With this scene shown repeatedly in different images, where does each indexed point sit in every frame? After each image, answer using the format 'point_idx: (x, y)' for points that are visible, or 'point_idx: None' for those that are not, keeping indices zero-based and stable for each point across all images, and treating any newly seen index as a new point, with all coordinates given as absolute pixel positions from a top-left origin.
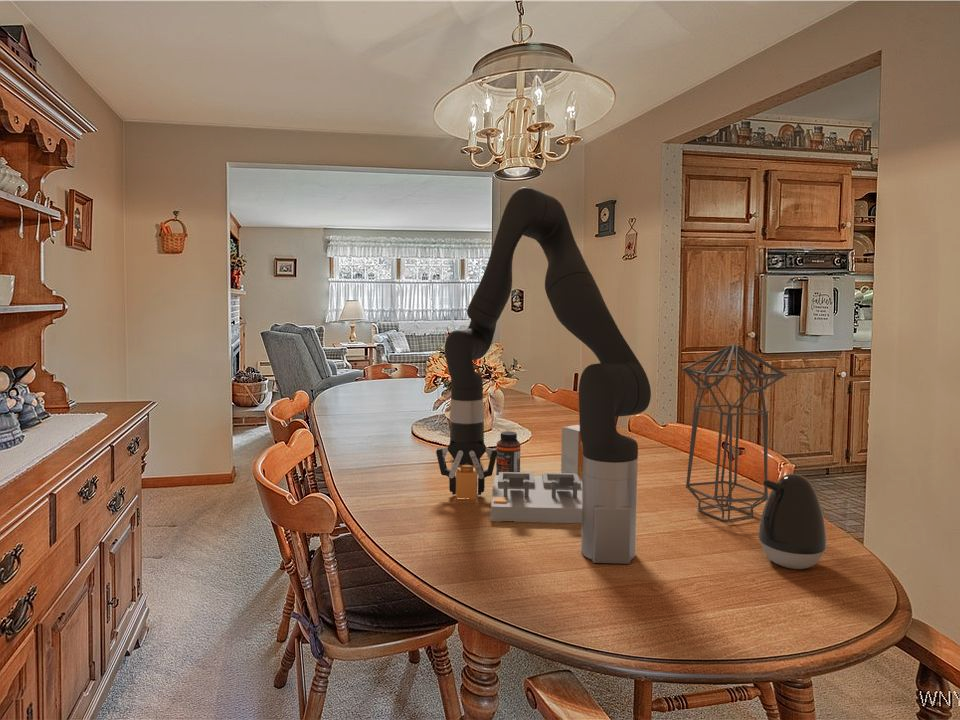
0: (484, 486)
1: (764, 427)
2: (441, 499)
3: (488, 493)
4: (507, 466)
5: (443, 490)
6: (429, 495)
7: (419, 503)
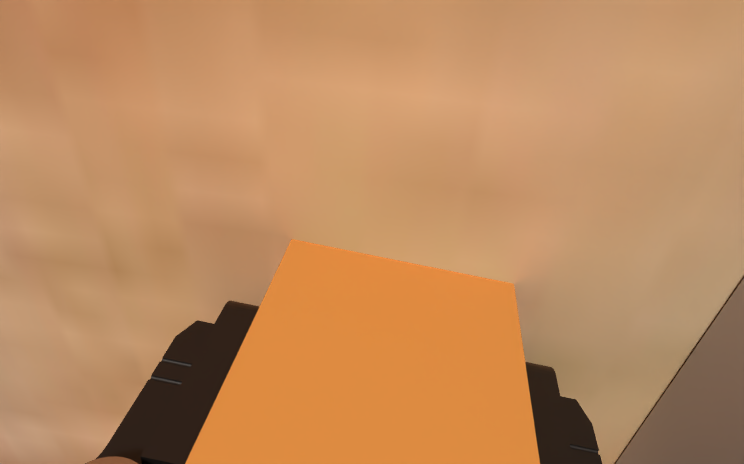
0: (594, 455)
1: None
2: (153, 370)
3: (653, 295)
4: None
5: (104, 110)
6: (10, 259)
7: (11, 413)
